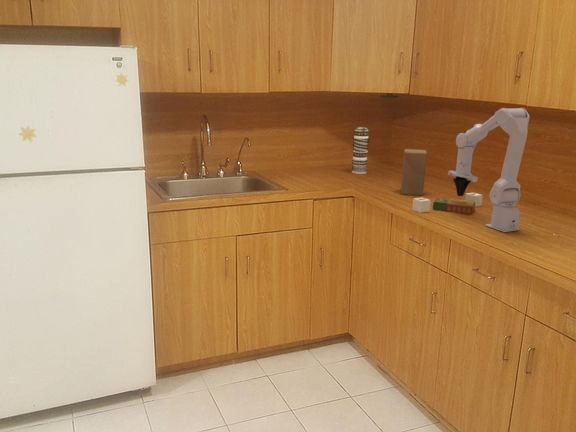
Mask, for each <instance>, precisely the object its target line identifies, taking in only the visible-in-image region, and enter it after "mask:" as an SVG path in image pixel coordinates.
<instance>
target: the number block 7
mask: <svg viewBox="0 0 576 432" xmlns="http://www.w3.org/2000/svg"><path fill="white" fill-rule="evenodd" d="M464 194H465V195H464V196H465V197H464V200H466V201H474V202H475V208H477V207H482V203H483V196H484V195H483V194H480V193H477V192H469V193H468V192H467V193H466V192H465V193H464Z"/></svg>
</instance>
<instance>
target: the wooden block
mask: <svg viewBox="0 0 576 432" xmlns="http://www.w3.org/2000/svg"><path fill="white" fill-rule="evenodd" d="M403 150H404V151H403V152H404V153H403V163H402V176H401V186H400V187H401V189H400V192H401V193H400V194H401V195H405V194H406V195H407V196H408V195H409V196H424V188H425V180H426V179H425V177H426V167H427V157H428V156H427V155H428V153H427V150H425V149H410V148H405V149H403Z"/></svg>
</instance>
